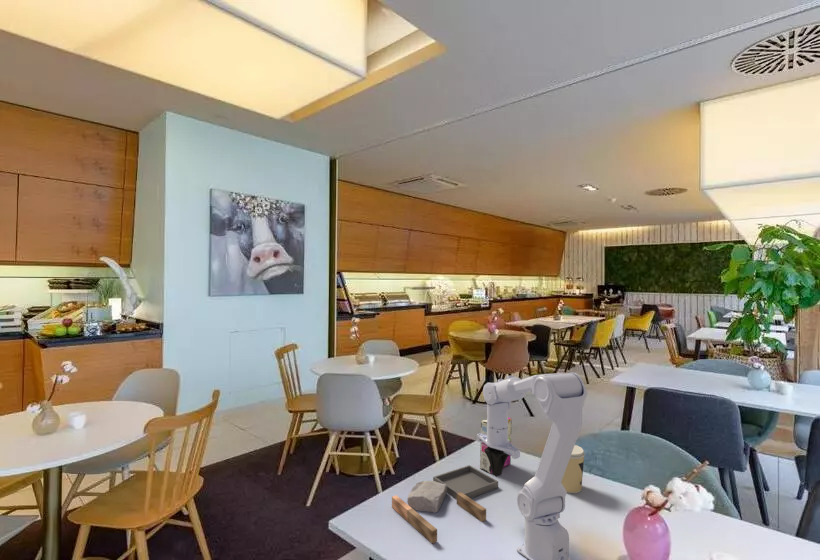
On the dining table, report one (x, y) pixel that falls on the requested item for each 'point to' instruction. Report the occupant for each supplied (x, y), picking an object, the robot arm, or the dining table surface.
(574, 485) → the coffee cup
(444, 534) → the dining table surface
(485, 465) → the candy bar box
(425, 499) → the stone block
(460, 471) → the tray
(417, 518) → the pair of wooden bars
